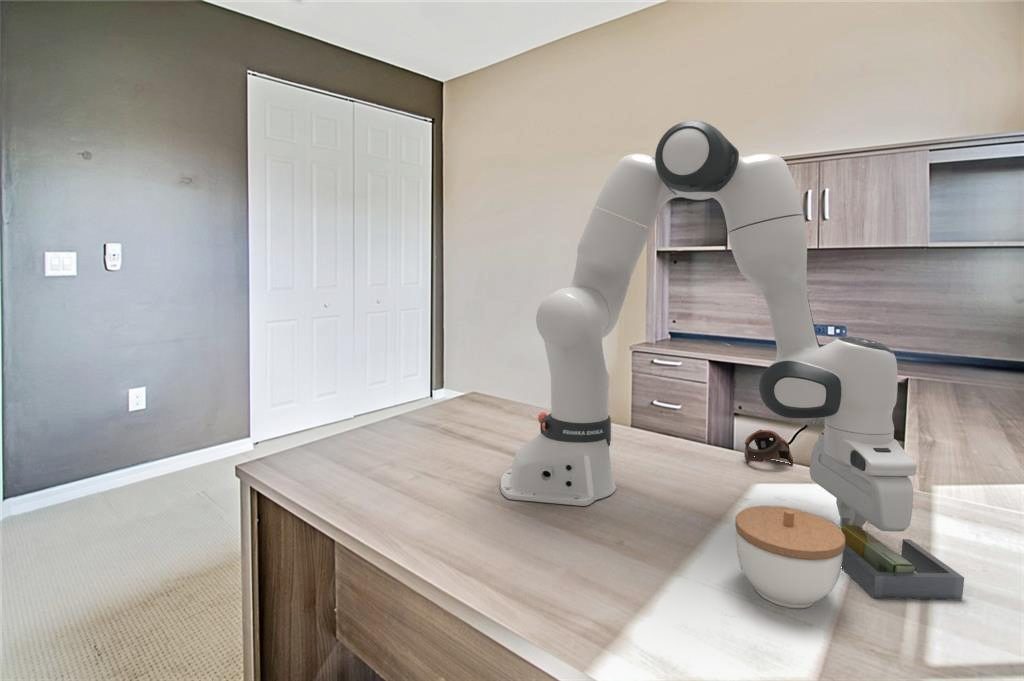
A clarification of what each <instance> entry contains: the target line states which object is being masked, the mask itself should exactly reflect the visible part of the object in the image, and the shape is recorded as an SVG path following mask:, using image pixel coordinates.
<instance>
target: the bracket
mask: <svg viewBox="0 0 1024 681" xmlns="http://www.w3.org/2000/svg"><path fill="white" fill-rule="evenodd" d="M901 542H902V544H901V554H900V556H901V557H903V558H904V559H906V560H907V561H908V562H910V563H911V564H913V565H914V566H915V569H916V570H917V571H916V570H915V571H916V572H914V573H902V572H878V571H877V570H875V569H874V568H873V567H872V566H871V565H870V564H868V563H867V562H866V561H865V560H864V559H863V558H861V557H860V556H859V555H858V554H857V553H856V552H855V551H853V550H852V549H851V548H850V547H849V546H848V545H846V544H845V549H844V551H843V559H842V568H843V569H844V570H845V571H846V572H847V573H848V576H850V577H851V578H852V579H853V580H854V581H855V582H856V583H857V584H858V585H859V586H860V587H861V588H862V589H863V590H864V591H866V593H867V594H868V595H869V596H870V597H871V598H872V599H884V598H917V599H916V600H946V599H962V600H963V595H964V594H963V593H964V585H965V577H964V576H963V575H962V574H961V573H958V572H957V571H956V570H954V569H952V568H951V567H950V566H949V565H947V564H946V563H944V562H943V561H942V560H940V559H939V558H937V557H936V556H934V555H933V554H932V553H930V552H929V551H927V550H926V549H924V548H923V547H921V546H920V545H919V544H917V543H916V542H915V541H913V540H912V539H910V538H903V539H902V541H901ZM842 568H841V569H842ZM843 569H842V570H843ZM844 570H843V571H844ZM845 571H844V572H845ZM846 572H845V573H846ZM847 573H846V574H847ZM919 598H920V599H919Z"/></svg>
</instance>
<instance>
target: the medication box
mask: <svg viewBox="0 0 1024 681" xmlns="http://www.w3.org/2000/svg"><path fill="white" fill-rule="evenodd" d="M840 527H841V528H840V530H841V531H842V532H843V534H844V535H845V539H846V540H845V544H846V545H848V546H849V547H850V548H851V549H852V550H853V551H855V552H856V553H857V554H858V555H859V556H860V557H861V558H863V559H864V560H865V561H866V562H867V563H868V564H870V565H871V566H872V567H873V568H874V569H875V570H877V571H878V572H902V573H915V571H916V570H915V566H914V565H913V564H911V563H910V562H908V561H907V560H906V559H904V558H903V557H901V554H899V553H897V552H895V551H894V549H891V547H888V546H887V545H886V544H884V543H883V542H881V541H880V540H879V539H877V537H875V536H873V535H872V534H870V533H869V532H868V531H866V530H865V529H864V528H863V529H862V528H860V527H859V526H854V525H842V526H840Z"/></svg>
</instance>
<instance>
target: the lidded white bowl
mask: <svg viewBox="0 0 1024 681" xmlns="http://www.w3.org/2000/svg"><path fill="white" fill-rule="evenodd" d="M734 521H735V524H734V525H735V526H734V527H735V549H736V554H737V558H738V559H737V560H738V563H739V566H740V569H741V571H742V572H743V575H744V577H745V579H747V580H748V582H749V583H750V584H751V585H752V586H753V587H754V590H755V591H756V592H757V594H758V595H760V597H761V598H763V599H765V600H767V601H768V602H770V603H773V604H775V605H777V606H781V607H784V608H789V609H806V608H807V609H808V608H809V607H812V606H813V605H815V603H816V602H819V601H820V600H822V599H824V598H825V597H826V596H828V595H829V594H830V593H831V592H832V590H833V589H834V587H835V586H836V584H837V582H838V580H839V577H840V575H841V570H842V568H841V567H842V559H843V551H844V549H845V540H846V539H845V535H844V534H843V532H842V531H841V528H839V527H838V526H837V525H836V524H834V523H833V522H831V521H830V520H828V519H826V518H824V517H821V516H819V515H817V514H814V513H811V512H808V511H805V510H801V509H797V508H792V507H787V506H780V505H779V506H778V505H757V506H756V505H755V506H751V507H747V508H744V509H742V510H740V511H739V512H738V513H737V514H736V516H735V520H734Z"/></svg>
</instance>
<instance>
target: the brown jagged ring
mask: <svg viewBox="0 0 1024 681" xmlns="http://www.w3.org/2000/svg"><path fill="white" fill-rule="evenodd" d="M753 441H754V443H755V446H756V449H755V448H753V447H751V446H750V445H751V443H752V442H753ZM744 444H745V448H744V450H745V451H744V456H743V457H744V459H745V462H746V461H747V462H759V463H762V462H764V461H766V462H767V461H771V460H774V459H775V460H777V461H781V459H782V460H786V461H788V462H789V463H790V466H791V465H793V466H794V457H793V454H792V453H791V451H790V450H791V449H790V446H789V445H790V444H789V442H788V441H787V440H786V439H784V438H783V437H782V436H780V435H779V434H778V433H777V432H776V431H773V430H768V429H765V430H763V429H759V430H756V431H755V432H753V433H751V434H750V435H749V436H747V438H746V439H745V441H744ZM754 456H755V457H754ZM747 462H746V463H747Z"/></svg>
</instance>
